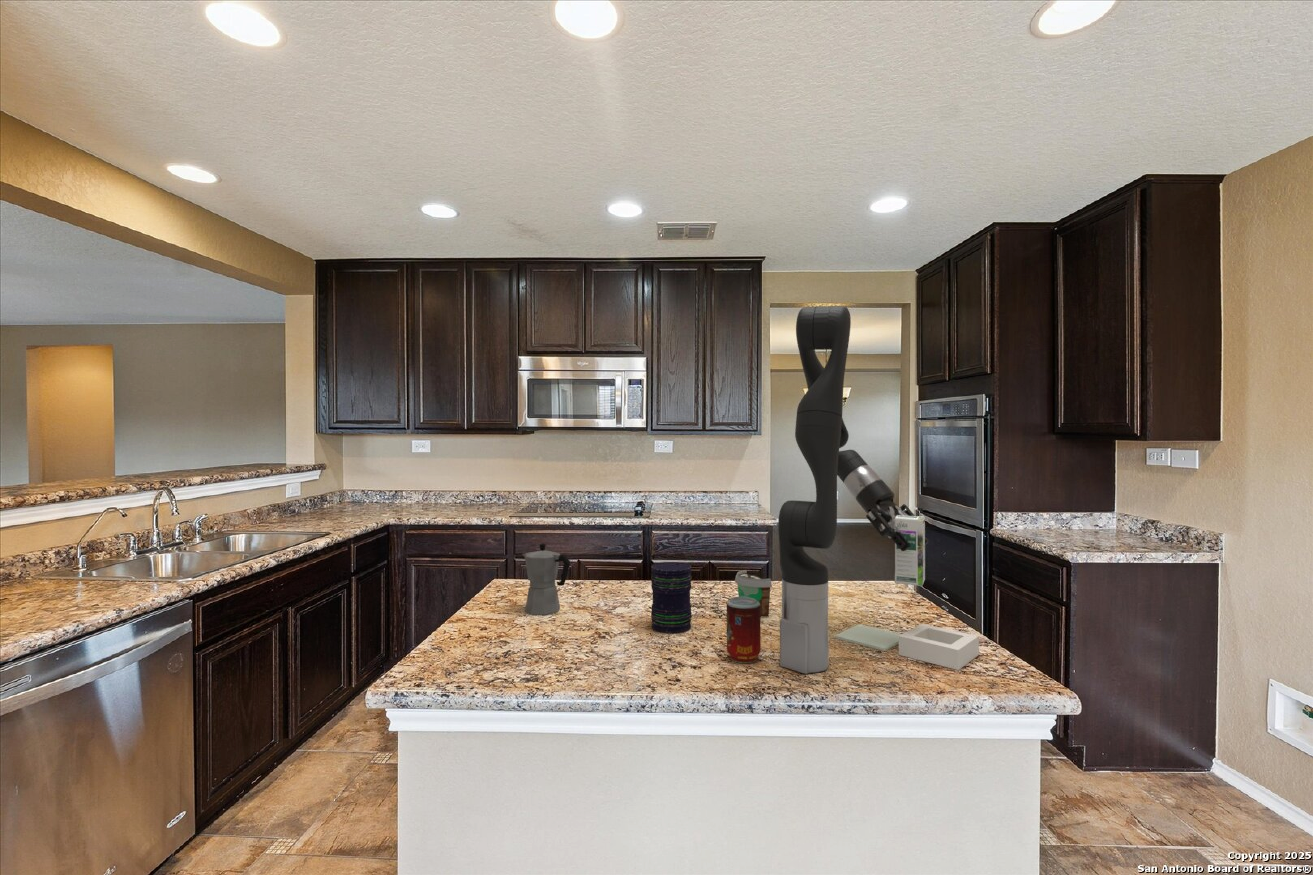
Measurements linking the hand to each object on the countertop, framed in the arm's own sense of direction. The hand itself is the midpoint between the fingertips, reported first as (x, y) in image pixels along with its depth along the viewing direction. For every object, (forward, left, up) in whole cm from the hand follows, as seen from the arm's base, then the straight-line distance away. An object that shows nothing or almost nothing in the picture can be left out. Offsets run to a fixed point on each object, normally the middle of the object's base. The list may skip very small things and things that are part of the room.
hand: (916, 546), depth 131 cm
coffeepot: (-41, +81, -23) cm, 94 cm away
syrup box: (0, +2, -8) cm, 8 cm away
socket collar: (0, -5, -22) cm, 23 cm away
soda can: (-31, +23, -23) cm, 45 cm away
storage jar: (-27, +48, -23) cm, 60 cm away
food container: (-4, +42, -23) cm, 48 cm away
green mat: (0, +10, -22) cm, 25 cm away
